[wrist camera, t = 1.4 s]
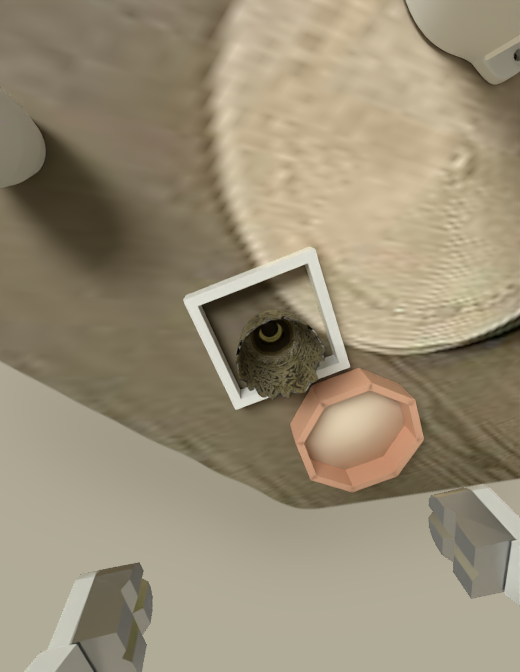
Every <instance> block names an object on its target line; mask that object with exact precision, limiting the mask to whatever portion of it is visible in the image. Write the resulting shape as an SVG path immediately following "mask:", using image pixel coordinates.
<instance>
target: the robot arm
mask: <svg viewBox="0 0 520 672" xmlns="http://www.w3.org/2000/svg"><path fill="white" fill-rule="evenodd" d="M406 3H407V5H408V8H409V10H410V13H411V15H412V17H413V19H414V20H415V22H416V24H417V25H418V27H419V28H420V30H421V31H422V32H423V34H424V35H425V36H426V37H427V38H428V39H429V40H430V41H431V42H432V43H433V44H435V45H436V46H437V47H439V48H440V49H442V50H444V51H445V52H448V53H450V54H452V55H455V56H458V57H461V58H463V59H465V60H467V61H469V62H470V63H472V64H473V66H474V67H475V68H476V70H477V71H478V72H479V73H480V74H481V76H482V77H483V78H484V79H485V80H486V81H488V82H489V83H491V84H494V85H497V84H501V83H503V82H504V81H506V80H508V79H509V78H511V77H512V76H514V75H515V74H517V73H519V72H520V0H406ZM514 53H516V55H517V59H516V61H515V60H514ZM429 507H430V508H431V509H432V511H433V513H432V514H431V515H430V516H429V528H430V532H431V535H432V538H433V540H434V542H435V544H436V546H437V547H438V549H439V551H440V552H441V554H442V555H443V556H445V557H446V558H448V559H449V560H451V561H453V572H454V574H455V575H456V577H457V578H458V580H459V581H460V583H461V584H462V586H463V587H464V589H465V590H466V592H467V593H468V595H469V596H470V598H477V597H482V596H486V595H491V594H496V593H501V592H504V594H505V595H506V596H508V597H509V598H510V599H512V600H513V601H514V602H516V603H517V604H518V605H520V517H519V516H518V515H517V514H516V513H515V512H514V511H513V510H512V509H511V508H510V507H509V506H508V505H507V504H506V503H505V502H504V501H503V500H502V499H501V498H500V497H499V496H498V495H497V494H496V493H495V492H494V491H493V490H492V489H491V488H490V487H489V486H487V485H485V484H479V485H475V486H471V487H467V488H460V489H456V490H452V491H448V492H444V493H440V494H435V495H431V497H430V498H429ZM142 575H143V569H142V567H141V565H140V563H134V564H129V565H124V566H118V567H113V568H109V569H103V570H98V571H93V572H89V573H84V574H80V576H79V577H78V578H77V580H76V581H75V582H74V585H73V587H72V590H71V592H70V595H69V597H68V600H67V602H66V605H65V607H64V610H63V612H62V615H61V617H60V620H59V622H58V625H57V627H56V629H55V632H54V635H53V637H52V640H51V642H50V644H49V647H48V649H47V650H46V651H42V652H40V653H39V655H38V656H37V657H36V658H35V659H34V660H33V662H32V663H31V664H30V665H29V667H28V668H27V669H26V670H25V671H24V672H142V668H143V662H144V657H145V651H146V645H147V644H146V642H145V640H144V638H143V636H142V635H143V634H144V632H145V631H146V629H147V628H148V626H149V625H150V622H151V616H152V598H153V597H152V591H151V587H150V585H149V582H148V581H146V580H144V579H142Z"/></svg>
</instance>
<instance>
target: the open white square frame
mask: <svg viewBox="0 0 520 672" xmlns="http://www.w3.org/2000/svg"><path fill="white" fill-rule="evenodd" d="M302 265H305V267H306V270H307V274H308V277H309V280H310V283H311V286H312V289H313V293H314V296H315V299H316V302H317V305H318V308H319V312H320V315H321V318H322V321H323V324H324V327H325V330H326V334H327V337H328V340H329V343H330V346H331V349H332V353H333V355H331V356H329V357H326V358H324V359H325V360H324V362H323V361H320V366H319V367H318V368H317V370H316V372H317V375H318V379H320V378H323V377H325V376H328V375H331V374H333V373H336V372H339V371H341V370H344V369H347V368H349V367H350V364H349V361H348V358H347V354H346V351H345V348H344V344H343V341H342V338H341V334H340V331H339V328H338V324H337V321H336V318H335V314H334V311H333V308H332V304H331V301H330V298H329V294H328V291H327V288H326V284H325V281H324V277H323V274H322V271H321V267H320V264H319V261H318V257H317V254H316V251H315V249H314V248H312V247H307V248H305V249H302V250H300V251H297V252H295V253H292V254H290V255H287V256H284V257H282V258H279V259H277V260H274V261H272V262H269V263H267V264H264V265H262V266H259V267H256V268H254V269H251V270H249V271H246V272H244V273H241V274H239V275H236V276H234V277H231V278H228V279H226V280H223V281H221V282H218V283H216V284H213V285H211V286H208V287H206V288H203V289H200V290H198V291H195V292H193V293H190V294H188V295H186V296H185V298H184V300H183V301H184V303H185V305H186V308H187V310H188V312H189V314H190V316H191V318H192V320H193V322H194V324H195V326H196V328H197V330H198V333H199V335H200V337H201V339H202V341H203V343H204V345H205V347H206V349H207V351H208V353H209V355H210V358H211V360H212V362H213V364H214V366H215V368H216V370H217V372H218V374H219V376H220V378H221V380H222V383H223V385H224V387H225V389H226V391H227V393H228V395H229V397H230V399H231V401H232V403H233V405H234V408H235V410H237V409H240V408H242V407H245V406H248V405H250V404H253V403H256V402H258V401H261V400H264V399H266V398H269V397H268V396H267V397H264V398H263V397H261V396H259V395H258V393H257V392H256V389H254V390H253V391H249V389H248V388H247V387H246V388H244V389H241V390H240V388H239V386H238V384H237V382H236V380H235V377H234V375H233V373H232V371H231V369H230V366H229V364H228V362H227V360H226V358H225V356H224V353H223V351H222V349H221V347H220V345H219V343H218V340H217V338H216V336H215V334H214V332H213V330H212V327H211V325H210V323H209V321H208V319H207V317H206V314H205V312H204V310H203V308H202V306H201V305H202V304H205V303H208V302H210V301H213V300H215V299H218V298H220V297H223V296H225V295H228V294H231V293H233V292H236V291H238V290H241V289H243V288H246V287H248V286H251V285H254V284H256V283H259V282H261V281H264V280H266V279H269V278H272V277H274V276H277V275H279V274H282V273H284V272H287V271H289V270H292V269H295V268H297V267H300V266H302ZM254 388H255V387H254Z"/></svg>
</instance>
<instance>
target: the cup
mask: <svg viewBox="0 0 520 672" xmlns="http://www.w3.org/2000/svg"><path fill="white" fill-rule="evenodd" d="M45 156H46V148H45V142H44V139H43V136H42V134H41V132H40V130H39V129H38V127H37V126H36V124H35V123H34V122H33V120H32V119H31V118H30V116H29V115H28V114H27V112H26V111H25V110H24V108H23V107H22V106H21V105H20V104H19V103H18V102H17V101H16V100H15V99H13V98H12V97H11V96H10V95H9V94H8V93H7V92H5V91H4V90H3V89H2V88H1V87H0V188H3V187H7V186H12V185H16V184H19V183H21V182H23V181H25V180H26V179H28V178H29V177H31V176H32V175H34V174H35V173H37V172H38V171H39V170H40V169H41V167H42V165H43V163H44V161H45Z"/></svg>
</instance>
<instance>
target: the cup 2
mask: <svg viewBox="0 0 520 672" xmlns="http://www.w3.org/2000/svg"><path fill="white" fill-rule="evenodd" d="M268 323H275V324H276V325H277V333H276V334H275V335H274V336H271V337H268V336H265V335H264V334H263V332H262V327H263V326H264V325H265V324H268ZM317 335H318V334H317V333H316V331H315V330H314V329H312V328H311V327H310V326H309V325H307V324H306V323H305V322H304V321H302V320H301V319H300V318H298V317H297V316H296V315H294V314H292V313H290V312H287V311H284V310H279V309H271V310H266V311H263V312H260V313H258V314H257V315H255V316H254V317H253V318H251V320H250V321H249V322H248V323H247V324H246V326H245V327H244V329H243V331H242V334H241V337H240V341H239V345H238V350H237V354H236V363H237V373H238V376H239V378H240V380H242V381H244V382H246V384H247V388H248V389H249V391H253V390H254V389H256V392H257V393H258V395H259V396H261V397H263V398H264V397H267V396H268V397H270V398H271V399H272V400H273V399H275V398H276V397H277V396H279V394H281V395H283V397H285V398H287V399H289V397H290V395H291V393H297V394H299V393H305V392H306V391H307V390H308V388H309V386H310V385H311V383H312V382H313V383H315V382H316V381H317V380H318V375H317V372H316V370H317V368H318V367H319V366H320V361H323V362H324V360H325V359H324V356H323V353H324V352H325V347H324V345H323V343H322V342H321V340H320V339H319V338H318V336H317ZM254 387H255V388H254Z"/></svg>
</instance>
